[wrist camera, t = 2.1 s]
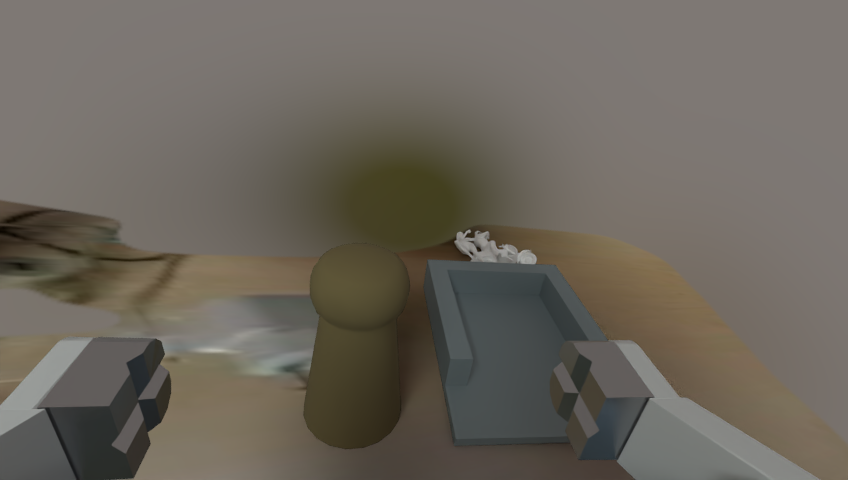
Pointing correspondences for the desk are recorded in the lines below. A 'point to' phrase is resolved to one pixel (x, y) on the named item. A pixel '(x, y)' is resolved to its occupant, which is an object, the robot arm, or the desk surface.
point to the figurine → (491, 250)
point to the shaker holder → (502, 347)
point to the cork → (356, 345)
